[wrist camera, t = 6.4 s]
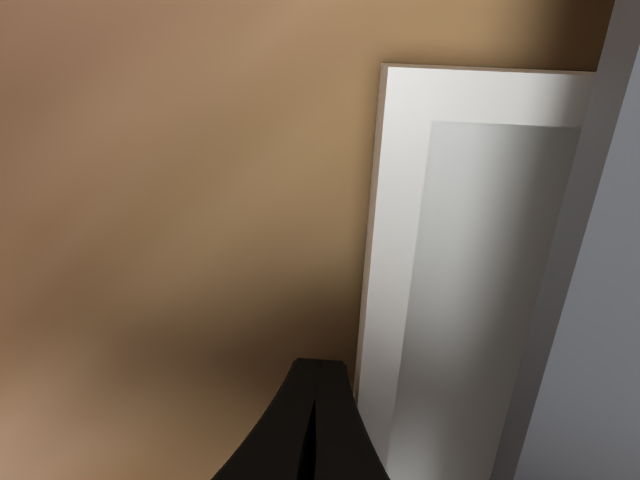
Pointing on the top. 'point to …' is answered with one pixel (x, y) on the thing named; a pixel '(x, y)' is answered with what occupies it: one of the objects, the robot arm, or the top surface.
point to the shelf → (588, 297)
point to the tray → (457, 255)
